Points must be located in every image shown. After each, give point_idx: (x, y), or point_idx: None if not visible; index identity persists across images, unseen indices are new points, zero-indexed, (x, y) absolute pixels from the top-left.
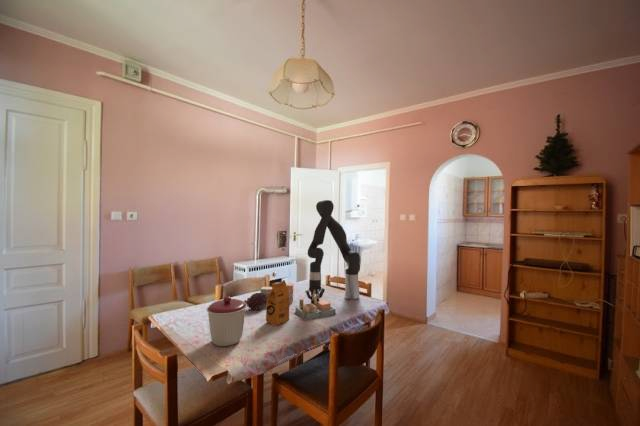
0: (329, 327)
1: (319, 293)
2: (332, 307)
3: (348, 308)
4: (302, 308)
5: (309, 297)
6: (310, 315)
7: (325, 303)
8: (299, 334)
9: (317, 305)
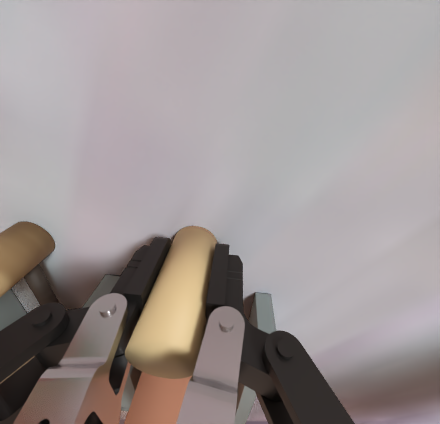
0: None
1: (301, 422)
2: (245, 415)
3: (395, 382)
4: (27, 281)
5: (27, 380)
6: None
7: None
8: None
9: (137, 388)
